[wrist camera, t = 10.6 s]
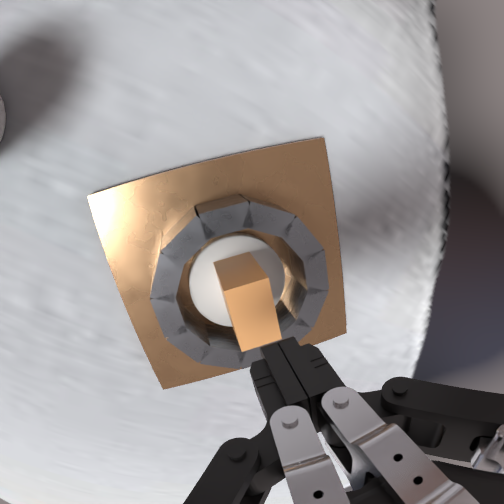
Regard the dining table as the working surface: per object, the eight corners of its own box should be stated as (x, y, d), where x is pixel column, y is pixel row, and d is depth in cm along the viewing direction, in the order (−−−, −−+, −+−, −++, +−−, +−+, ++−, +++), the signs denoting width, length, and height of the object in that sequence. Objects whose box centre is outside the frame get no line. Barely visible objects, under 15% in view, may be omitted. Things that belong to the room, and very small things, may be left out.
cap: (176, 247, 21) (178, 281, 16) (270, 221, 22) (300, 245, 17) (203, 328, 23) (213, 376, 18) (286, 302, 24) (316, 343, 19)
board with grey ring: (91, 194, 19) (73, 204, 16) (317, 137, 22) (345, 137, 18) (163, 381, 25) (164, 415, 21) (341, 327, 27) (363, 351, 24)
